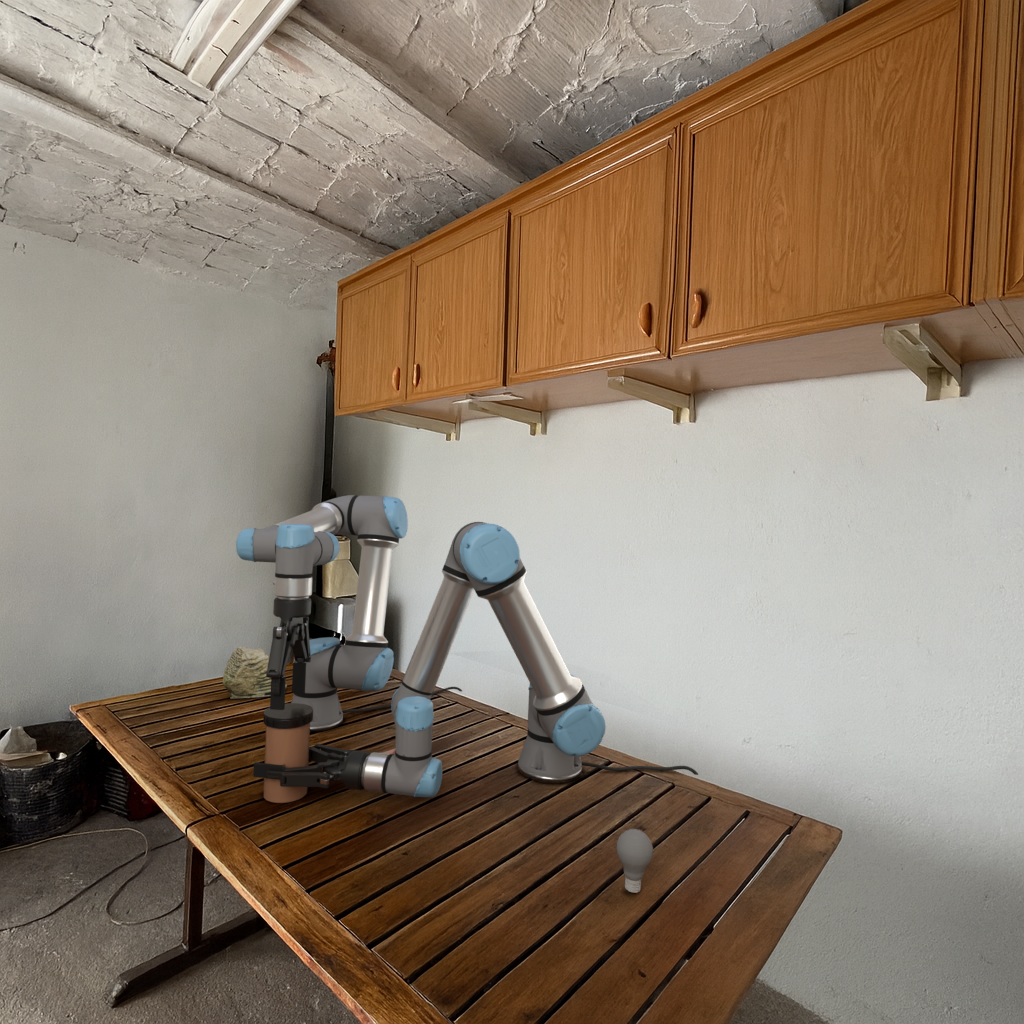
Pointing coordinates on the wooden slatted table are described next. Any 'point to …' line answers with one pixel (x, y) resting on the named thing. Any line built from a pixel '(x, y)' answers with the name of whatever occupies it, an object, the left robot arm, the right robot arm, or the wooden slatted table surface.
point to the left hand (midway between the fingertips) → (288, 700)
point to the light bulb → (634, 857)
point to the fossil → (247, 674)
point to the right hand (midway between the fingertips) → (266, 760)
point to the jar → (286, 760)
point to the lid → (288, 716)
